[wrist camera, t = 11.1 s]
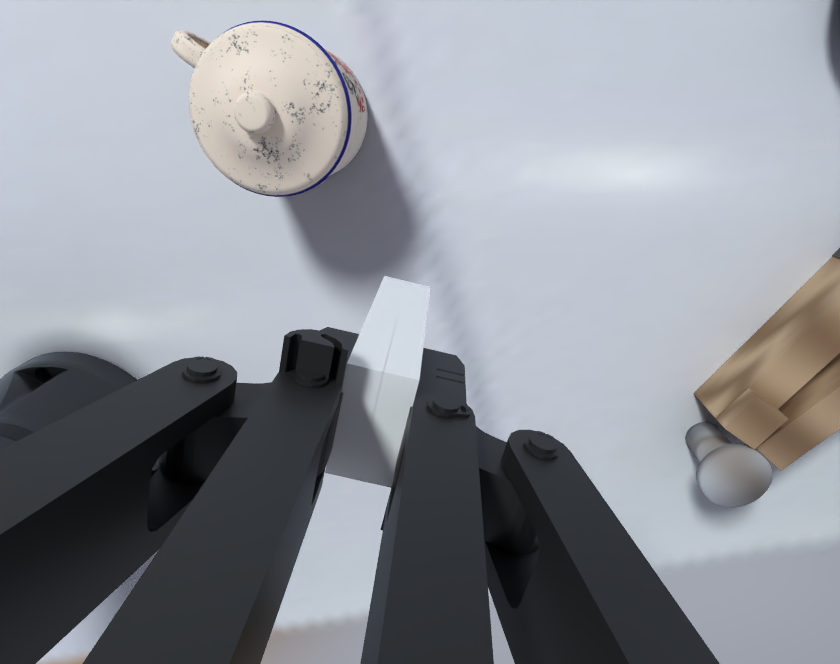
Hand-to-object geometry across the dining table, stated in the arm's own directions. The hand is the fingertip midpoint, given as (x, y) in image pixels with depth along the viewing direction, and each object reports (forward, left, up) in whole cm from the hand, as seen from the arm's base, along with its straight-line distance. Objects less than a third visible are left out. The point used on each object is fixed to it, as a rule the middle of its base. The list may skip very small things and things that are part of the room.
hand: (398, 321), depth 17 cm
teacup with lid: (-1, +12, -25) cm, 27 cm away
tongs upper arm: (+10, -28, -24) cm, 39 cm away
